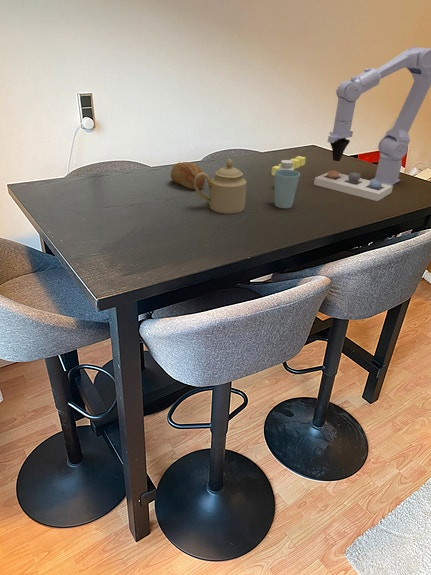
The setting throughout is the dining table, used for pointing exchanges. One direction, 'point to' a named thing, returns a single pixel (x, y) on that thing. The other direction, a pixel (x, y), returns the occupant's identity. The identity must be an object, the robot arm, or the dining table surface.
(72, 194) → the dining table surface
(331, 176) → the terracotta button
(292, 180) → the cup
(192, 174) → the bread roll
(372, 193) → the button panel
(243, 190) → the sugar bowl
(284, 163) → the supplement bottle
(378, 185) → the slate blue button
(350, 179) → the charcoal button
